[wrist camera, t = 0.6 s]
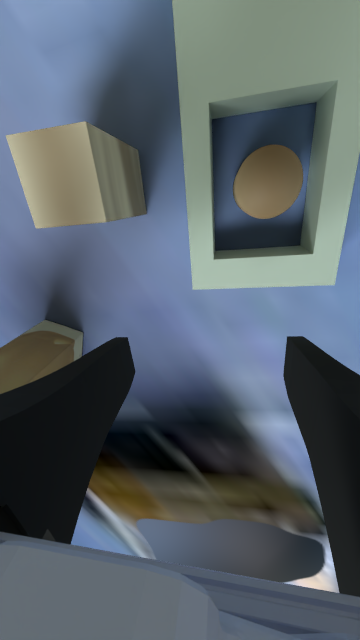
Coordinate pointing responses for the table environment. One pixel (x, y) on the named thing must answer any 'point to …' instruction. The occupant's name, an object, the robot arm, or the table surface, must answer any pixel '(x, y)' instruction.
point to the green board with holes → (260, 95)
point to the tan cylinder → (268, 181)
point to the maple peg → (77, 175)
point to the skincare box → (38, 354)
